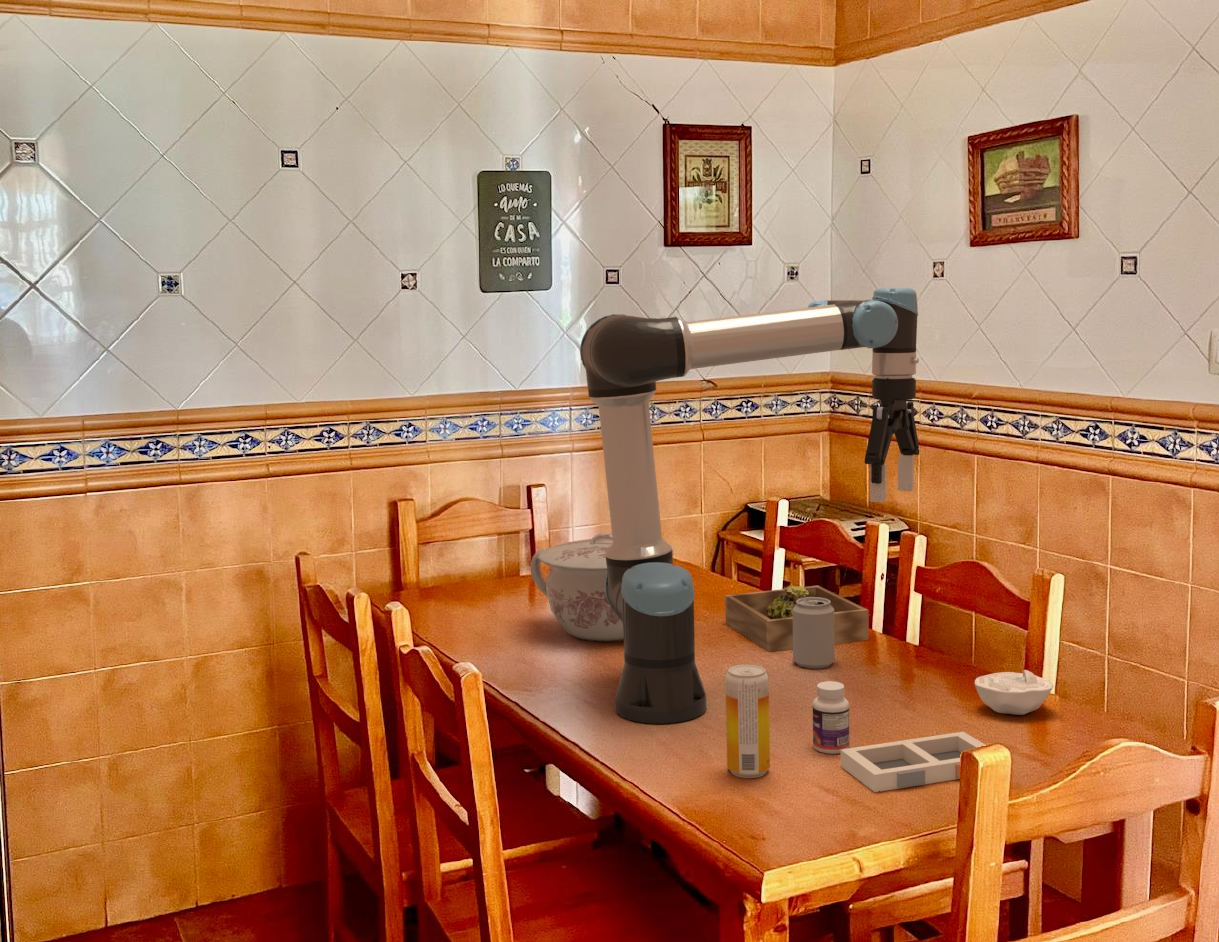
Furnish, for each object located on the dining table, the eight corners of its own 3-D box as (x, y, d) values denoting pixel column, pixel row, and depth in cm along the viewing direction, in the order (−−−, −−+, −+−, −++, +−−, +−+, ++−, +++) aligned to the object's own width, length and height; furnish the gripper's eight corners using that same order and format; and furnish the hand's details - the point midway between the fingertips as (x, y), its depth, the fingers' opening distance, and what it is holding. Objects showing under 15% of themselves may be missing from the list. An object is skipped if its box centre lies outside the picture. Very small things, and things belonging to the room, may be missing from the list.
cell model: (970, 700, 204) (970, 660, 203) (1046, 702, 202) (1046, 662, 201) (978, 721, 194) (978, 680, 193) (1057, 723, 192) (1058, 681, 191)
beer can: (766, 762, 180) (764, 662, 178) (773, 778, 174) (771, 675, 172) (724, 764, 180) (722, 664, 178) (730, 780, 174) (728, 677, 172)
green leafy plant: (834, 646, 238) (833, 597, 236) (751, 643, 242) (750, 594, 240) (841, 623, 254) (841, 576, 253) (764, 620, 258) (763, 574, 257)
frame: (768, 652, 234) (768, 621, 234) (725, 623, 255) (725, 595, 255) (868, 640, 240) (868, 609, 239) (818, 613, 261) (818, 585, 260)
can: (834, 670, 222) (833, 605, 220) (792, 669, 223) (791, 604, 222) (835, 658, 229) (834, 595, 227) (794, 657, 231) (793, 594, 229)
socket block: (876, 793, 168) (876, 775, 167) (840, 766, 178) (840, 749, 177) (1004, 773, 173) (1004, 756, 173) (963, 747, 183) (963, 731, 183)
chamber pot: (698, 641, 244) (696, 537, 241) (567, 660, 234) (563, 552, 231) (642, 609, 269) (640, 515, 266) (522, 625, 259) (518, 528, 256)
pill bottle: (811, 741, 188) (811, 679, 186) (848, 741, 187) (847, 679, 186) (813, 754, 182) (813, 691, 181) (850, 754, 182) (850, 691, 180)
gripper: (888, 381, 205) (886, 508, 208) (938, 372, 225) (935, 487, 228) (846, 380, 209) (844, 504, 212) (898, 372, 229) (896, 485, 232)
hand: (892, 496), depth 220 cm, fingers open, 13 cm apart
